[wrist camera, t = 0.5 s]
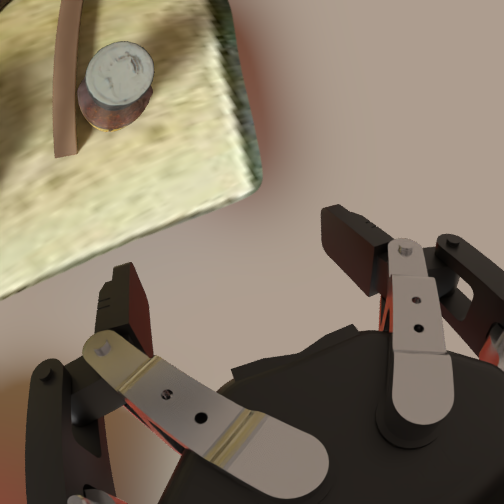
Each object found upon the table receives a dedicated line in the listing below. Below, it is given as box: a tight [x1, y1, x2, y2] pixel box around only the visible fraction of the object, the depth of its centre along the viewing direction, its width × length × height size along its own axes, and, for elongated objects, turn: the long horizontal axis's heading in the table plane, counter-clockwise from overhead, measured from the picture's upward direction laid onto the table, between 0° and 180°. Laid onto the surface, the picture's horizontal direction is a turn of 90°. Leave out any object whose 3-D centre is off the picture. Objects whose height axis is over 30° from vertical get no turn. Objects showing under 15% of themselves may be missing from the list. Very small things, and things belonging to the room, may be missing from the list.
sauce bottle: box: [77, 41, 154, 132], centre depth 22 cm, size 6×6×20 cm
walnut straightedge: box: [53, 0, 83, 158], centre depth 24 cm, size 2×23×3 cm, turn 179°
